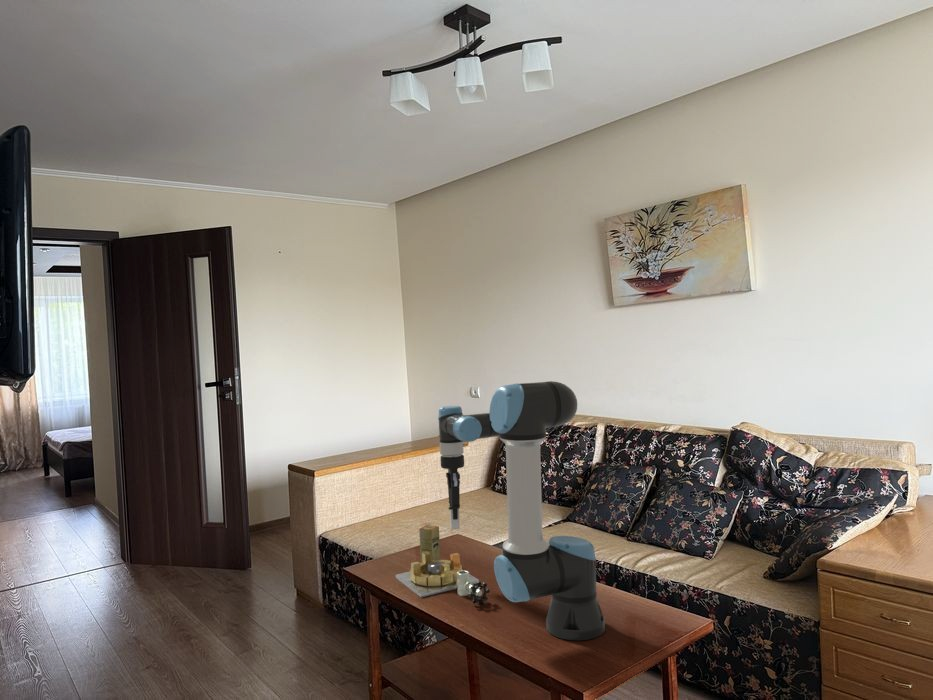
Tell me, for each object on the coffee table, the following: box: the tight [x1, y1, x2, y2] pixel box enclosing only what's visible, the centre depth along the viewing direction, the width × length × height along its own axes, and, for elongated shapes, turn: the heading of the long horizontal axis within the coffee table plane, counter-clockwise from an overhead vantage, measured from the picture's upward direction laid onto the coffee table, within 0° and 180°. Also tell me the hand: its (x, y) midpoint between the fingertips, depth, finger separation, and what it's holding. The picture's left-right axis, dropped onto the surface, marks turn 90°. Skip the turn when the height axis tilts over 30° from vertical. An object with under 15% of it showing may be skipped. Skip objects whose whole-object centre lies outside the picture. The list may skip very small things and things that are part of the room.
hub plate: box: [395, 562, 480, 598], centre depth 206 cm, size 20×20×5 cm
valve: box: [457, 569, 491, 605], centre depth 190 cm, size 7×7×12 cm
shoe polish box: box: [418, 524, 441, 563], centre depth 223 cm, size 5×5×12 cm
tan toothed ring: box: [409, 551, 463, 586], centre depth 206 cm, size 16×16×6 cm
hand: (455, 528), depth 204 cm, fingers closed
